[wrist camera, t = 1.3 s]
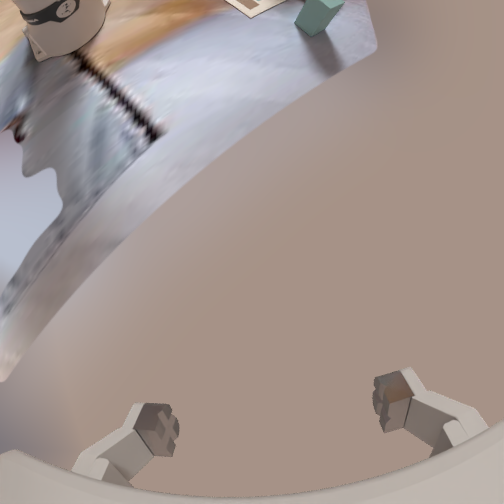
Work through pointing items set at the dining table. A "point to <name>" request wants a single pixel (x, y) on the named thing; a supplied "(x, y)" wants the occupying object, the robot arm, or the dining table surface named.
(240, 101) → the dining table surface
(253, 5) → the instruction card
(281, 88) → the dining table surface
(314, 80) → the dining table surface
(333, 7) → the teal tall block
